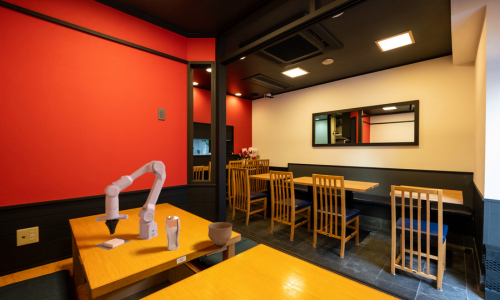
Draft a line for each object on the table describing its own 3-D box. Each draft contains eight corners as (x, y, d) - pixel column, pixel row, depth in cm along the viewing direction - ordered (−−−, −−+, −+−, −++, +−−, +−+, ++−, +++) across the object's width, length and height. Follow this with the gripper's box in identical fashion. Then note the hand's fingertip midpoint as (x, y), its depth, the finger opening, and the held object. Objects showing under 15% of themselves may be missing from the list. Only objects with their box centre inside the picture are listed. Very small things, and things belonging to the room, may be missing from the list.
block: (115, 241, 114) (124, 243, 111) (104, 246, 108) (112, 248, 106) (115, 238, 114) (124, 240, 111) (104, 242, 108) (112, 244, 106)
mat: (131, 241, 115) (131, 240, 115) (108, 251, 104) (108, 250, 104) (116, 238, 120) (116, 237, 120) (94, 247, 109) (94, 246, 109)
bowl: (237, 241, 112) (237, 222, 112) (222, 251, 101) (221, 230, 102) (219, 236, 119) (218, 219, 119) (203, 245, 108) (202, 226, 108)
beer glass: (164, 251, 102) (164, 220, 102) (166, 245, 109) (166, 216, 109) (179, 249, 104) (179, 219, 104) (180, 243, 111) (180, 215, 111)
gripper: (130, 205, 116) (130, 229, 116) (100, 206, 113) (100, 232, 113) (124, 208, 109) (125, 234, 109) (93, 210, 106) (93, 237, 106)
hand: (112, 233), depth 110 cm, fingers closed
